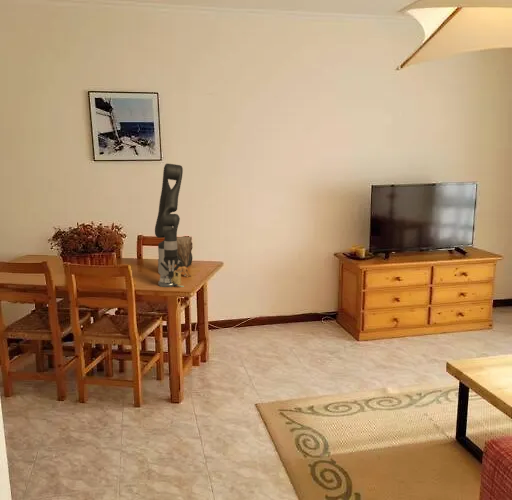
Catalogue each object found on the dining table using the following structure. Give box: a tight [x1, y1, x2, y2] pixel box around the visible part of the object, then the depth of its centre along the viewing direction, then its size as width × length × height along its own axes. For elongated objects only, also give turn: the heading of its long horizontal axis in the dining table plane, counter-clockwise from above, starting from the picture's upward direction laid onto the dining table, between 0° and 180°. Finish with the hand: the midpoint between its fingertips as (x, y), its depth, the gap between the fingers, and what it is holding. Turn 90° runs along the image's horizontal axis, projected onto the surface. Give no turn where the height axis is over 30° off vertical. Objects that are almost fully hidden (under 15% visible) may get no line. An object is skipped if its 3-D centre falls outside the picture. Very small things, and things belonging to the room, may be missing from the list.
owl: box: [176, 235, 193, 269], centre depth 342 cm, size 13×13×20 cm
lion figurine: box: [171, 264, 192, 278], centre depth 313 cm, size 15×5×9 cm, turn 90°
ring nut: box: [159, 271, 182, 286], centre depth 292 cm, size 16×10×7 cm, turn 46°
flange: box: [157, 274, 179, 288], centre depth 295 cm, size 12×12×6 cm
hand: (171, 277), depth 287 cm, fingers closed
